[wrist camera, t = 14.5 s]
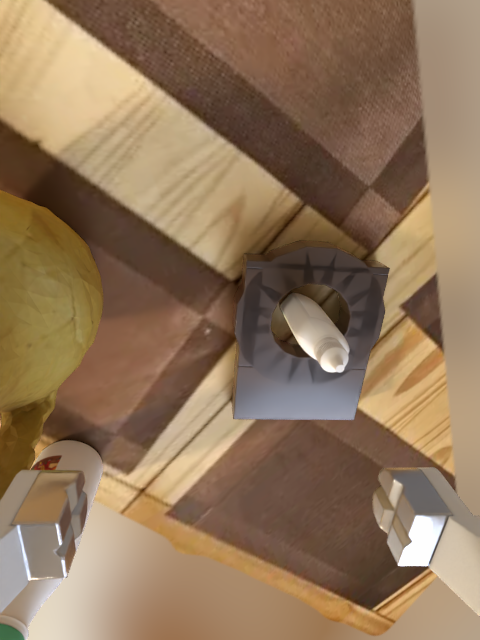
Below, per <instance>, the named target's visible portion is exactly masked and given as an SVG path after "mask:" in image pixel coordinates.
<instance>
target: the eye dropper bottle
mask: <svg viewBox="0 0 480 640" xmlns="http://www.w3.org/2000/svg"><path fill="white" fill-rule="evenodd" d="M280 309H281V311H282V313H283V315H284V317H285V319H286V321H287V323H288V325H289V327H290V329H291V331H292V333H293V334H294V336H295V338H296V340H297V342H298V343H299V345H300V346H301V347H302V349H303V350H304V351H305V352H306V353H307V354H308V355H310V356H311V357H312V358H314V359H316V360H317V361H318V362H319V364H320V366H321V367H322V369H323V370H325V371H327V372H332V373H333V372H339V373H340V372H343V371H344V367H345V366H346V364H347V363H348V360H349V358H348V353H349V345H348V343H347V341H346V339H345V338H344V336H343V335H342V333H341V332H340V331H339V330H338V328H337V327H336V326H335V325H334V323H333V322H332V321H331V319H330V318H329V317H328V316H327V314H326V313H325V312H324V311H323V309H322V308H321V307H320V306H319V305H318V304H317V303H316V302H315V301H313V300H312V299H310V298H309V297H307V296H304V295H302V294H299V293H291V294H289V296H288V297H287V298H286V299H285V300H284V301H283V302H282V304H281V306H280Z"/></svg>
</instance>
